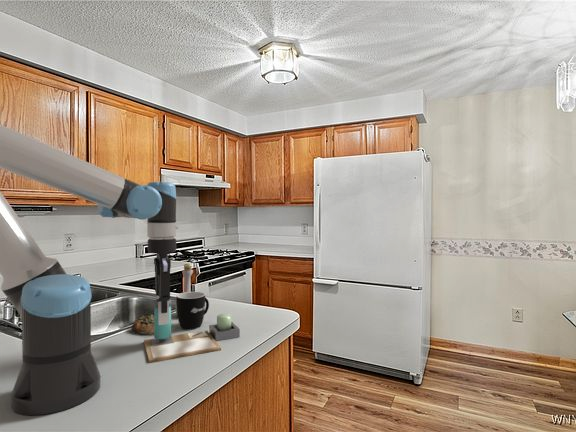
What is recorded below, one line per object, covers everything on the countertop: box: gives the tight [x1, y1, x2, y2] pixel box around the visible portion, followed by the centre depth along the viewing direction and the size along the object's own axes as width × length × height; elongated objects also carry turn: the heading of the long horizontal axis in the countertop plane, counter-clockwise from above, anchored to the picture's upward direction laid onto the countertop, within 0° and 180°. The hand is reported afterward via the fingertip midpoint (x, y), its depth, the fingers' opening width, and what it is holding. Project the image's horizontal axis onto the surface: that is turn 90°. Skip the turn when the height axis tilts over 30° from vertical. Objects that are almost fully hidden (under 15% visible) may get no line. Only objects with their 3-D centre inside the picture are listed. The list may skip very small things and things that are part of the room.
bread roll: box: [130, 314, 154, 336], centre depth 111 cm, size 11×11×5 cm
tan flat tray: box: [143, 329, 222, 364], centre depth 98 cm, size 18×15×1 cm
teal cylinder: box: [153, 298, 172, 339], centre depth 99 cm, size 4×4×10 cm
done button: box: [216, 313, 232, 331], centre depth 106 cm, size 4×4×4 cm
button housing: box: [208, 321, 241, 342], centre depth 106 cm, size 7×7×2 cm
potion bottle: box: [174, 263, 194, 313], centre depth 126 cm, size 9×9×18 cm
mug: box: [175, 291, 210, 330], centre depth 115 cm, size 12×9×10 cm
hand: (162, 321), depth 99 cm, fingers closed on teal cylinder, 4 cm apart
